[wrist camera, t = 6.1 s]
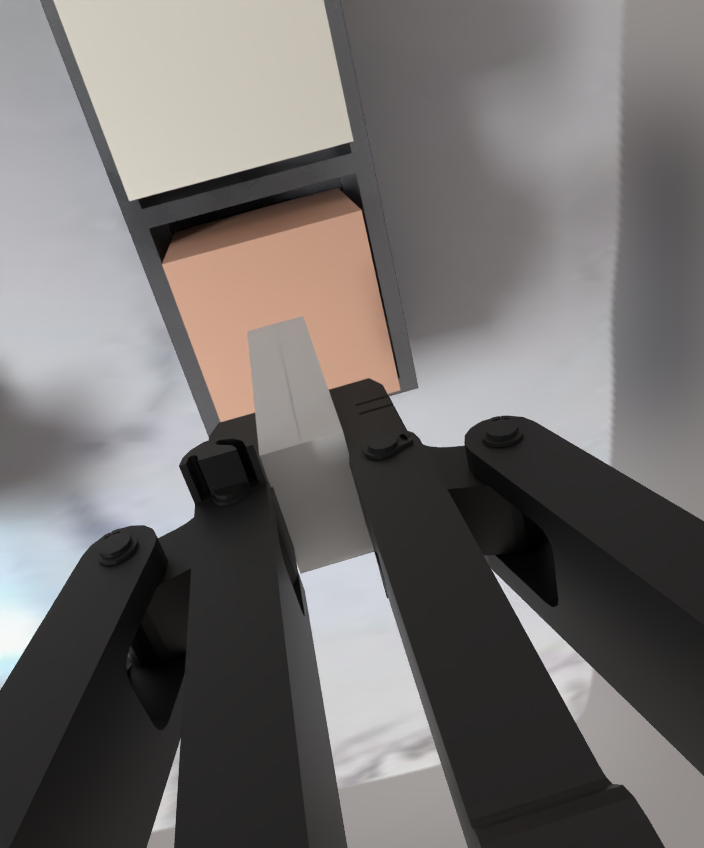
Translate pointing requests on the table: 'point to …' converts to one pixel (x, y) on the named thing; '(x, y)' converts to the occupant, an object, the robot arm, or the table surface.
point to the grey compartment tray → (158, 210)
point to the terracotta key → (281, 293)
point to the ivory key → (206, 85)
